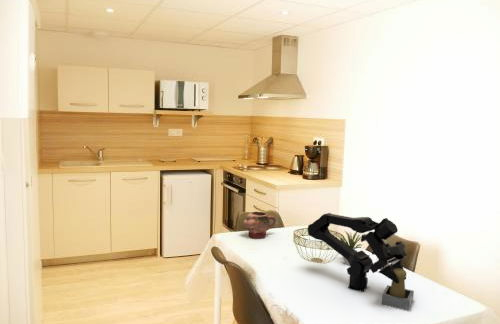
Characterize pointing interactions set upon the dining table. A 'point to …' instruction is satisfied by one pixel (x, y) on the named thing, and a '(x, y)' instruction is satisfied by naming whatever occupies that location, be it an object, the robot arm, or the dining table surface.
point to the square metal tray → (397, 299)
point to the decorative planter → (258, 224)
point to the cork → (398, 288)
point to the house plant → (350, 244)
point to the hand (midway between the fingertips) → (401, 281)
